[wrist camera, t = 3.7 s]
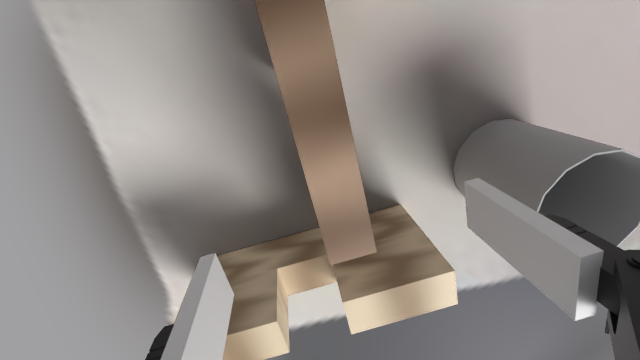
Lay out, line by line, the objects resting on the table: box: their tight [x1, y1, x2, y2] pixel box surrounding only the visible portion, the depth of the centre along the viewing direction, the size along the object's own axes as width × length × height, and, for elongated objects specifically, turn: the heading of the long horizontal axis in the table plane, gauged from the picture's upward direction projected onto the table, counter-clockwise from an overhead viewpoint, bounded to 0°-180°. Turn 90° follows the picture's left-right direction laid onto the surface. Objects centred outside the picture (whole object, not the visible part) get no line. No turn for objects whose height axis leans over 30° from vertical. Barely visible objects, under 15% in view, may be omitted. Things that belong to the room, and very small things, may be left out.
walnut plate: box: [255, 0, 377, 265], centre depth 21 cm, size 18×3×10 cm, turn 14°
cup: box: [453, 119, 640, 247], centre depth 25 cm, size 8×8×10 cm
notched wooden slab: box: [174, 205, 458, 360], centre depth 26 cm, size 20×3×10 cm, turn 104°
